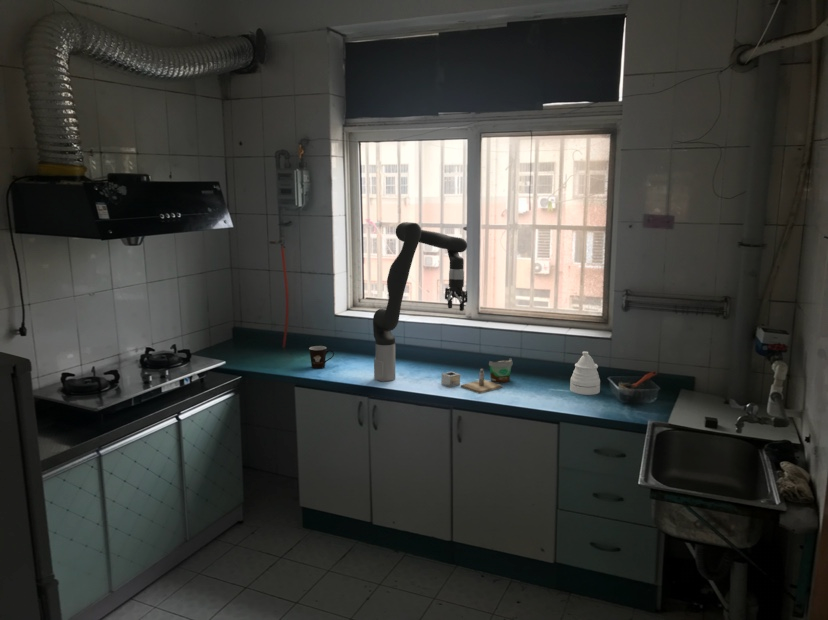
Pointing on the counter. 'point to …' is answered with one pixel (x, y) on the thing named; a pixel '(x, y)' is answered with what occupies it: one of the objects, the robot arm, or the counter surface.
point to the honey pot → (585, 376)
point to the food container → (500, 371)
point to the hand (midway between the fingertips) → (455, 309)
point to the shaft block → (481, 384)
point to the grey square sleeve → (450, 379)
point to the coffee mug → (318, 356)
